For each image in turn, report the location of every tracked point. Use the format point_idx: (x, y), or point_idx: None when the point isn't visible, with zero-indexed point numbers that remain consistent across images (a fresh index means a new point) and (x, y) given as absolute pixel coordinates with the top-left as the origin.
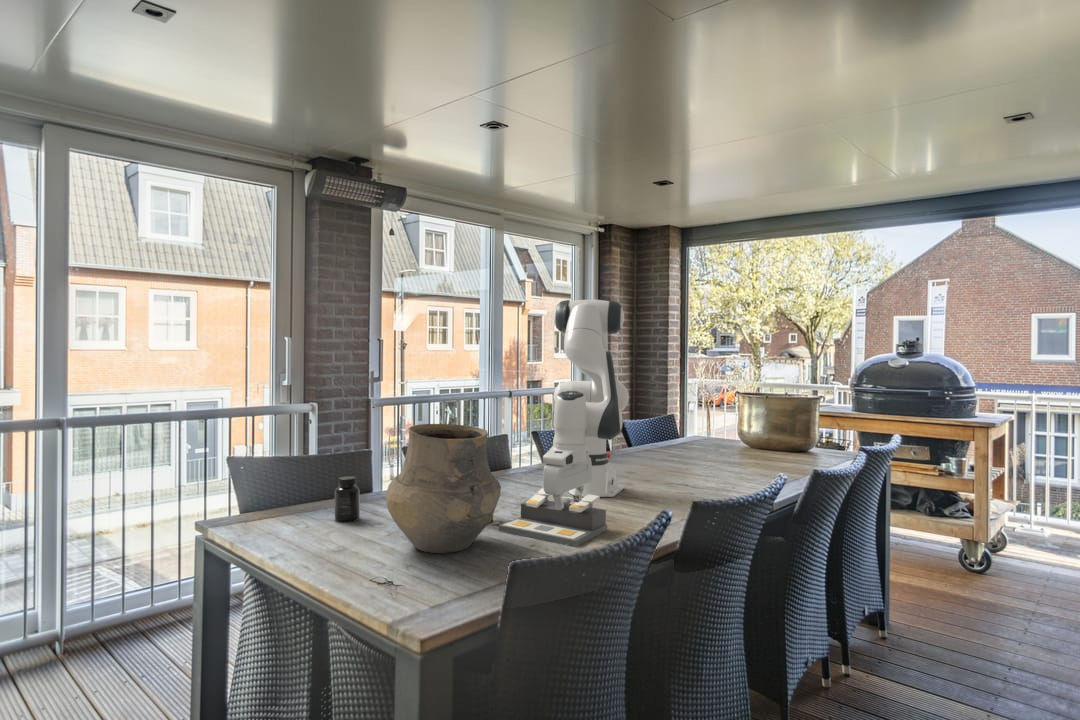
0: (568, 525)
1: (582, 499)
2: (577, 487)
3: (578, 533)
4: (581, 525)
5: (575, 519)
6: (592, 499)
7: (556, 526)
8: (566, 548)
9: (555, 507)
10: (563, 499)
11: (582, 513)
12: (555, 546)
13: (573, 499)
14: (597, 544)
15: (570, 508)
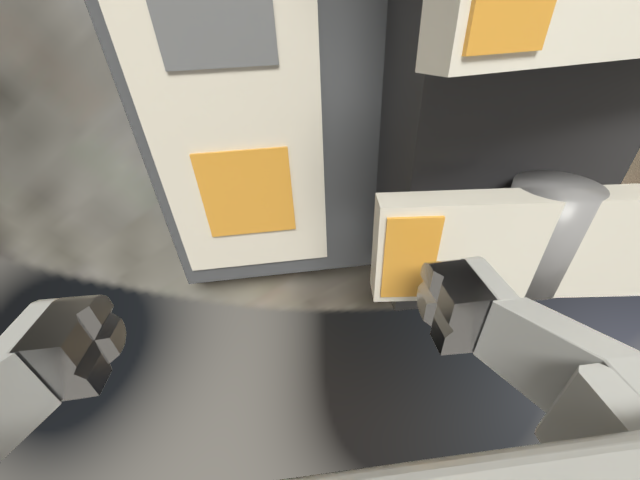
0: (382, 120)
1: (612, 218)
2: (568, 405)
3: (284, 243)
4: None
5: (393, 187)
6: (611, 285)
7: (338, 43)
8: (142, 253)
9: (27, 308)
10: (543, 65)
11: None
12: (115, 203)
13: (434, 272)
14: (287, 302)
15: (377, 213)
